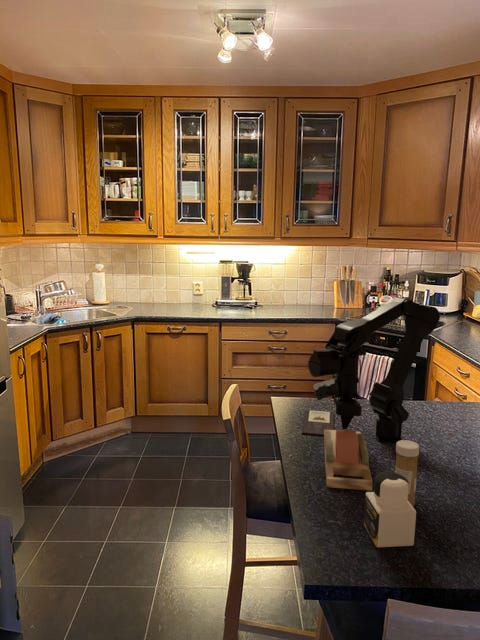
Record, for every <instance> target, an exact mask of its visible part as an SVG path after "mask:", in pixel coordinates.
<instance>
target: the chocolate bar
mask: <svg viewBox="0 0 480 640" xmlns="http://www.w3.org/2000/svg"><path fill="white" fill-rule="evenodd" d="M302 423H303V424H302V429H301V435H303V436H304V435H308V436H316V437H324V429H325V430H335V411H334V412H333V411H332V412H331V411H322V410H321V411H320V410H310V409H307V410H306V409H305V412H304V417H303V422H302Z"/></svg>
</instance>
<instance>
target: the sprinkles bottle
mask: <svg viewBox="0 0 480 640" xmlns="http://www.w3.org/2000/svg"><path fill="white" fill-rule="evenodd" d="M395 443H396V444H395V454H396V458H395V466H394V473H398V474H400V475H402V476H404V477H405V478H406V479H407V480H408V482H409V487H408V501H409V503H410V504H411V505H412V506H413V507H414V506H415V505H416V501H415V500H416V490H417V476H418V475H417V474H418V473H417V471H418V470H417V469H418V459H419V458H418V457H419V454H420V445H419V444H418V443H417V442H415V441H412V440H408V439H402V440H400V441H398V442H395Z"/></svg>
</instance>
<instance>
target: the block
mask: <svg viewBox="0 0 480 640" xmlns="http://www.w3.org/2000/svg"><path fill="white" fill-rule="evenodd" d="M335 430H336V443H335V451H336V462H337V463H350V464H358V451H359V443H358V438H357V433H356V432H357V431H356V430H347V429H335Z"/></svg>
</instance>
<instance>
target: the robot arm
mask: <svg viewBox="0 0 480 640" xmlns="http://www.w3.org/2000/svg"><path fill="white" fill-rule="evenodd" d="M402 316H403V317H405V319H404V329H405V333H404V335H403V338H402V340H401V342H400V345H399V346H398V349H397V351H396V352H395V353H396V354H395V356H394V358H393V360H392V363H391V366H390V367H389V370H388V372H387V375H386V377H385V379H384V380H381V382H377V381H375V382H374V384H373V387H372V389H371V391H370V393H369V394H368V395H369V400H368V401H369V403H370V404H369V405H370V406H371V408H372V413H374V414H377V417H376V419H375V420H374V435H375V436H376V439H377V441H378V442H388V443H389V442H390V443H397V442H398V441H400V440H403V439H402V430H403V424H404V422H407V420H408V419H409V416H410V412H409V411H408V410H407V409H406V408H405V407H404V406H403V403H404V399H405V394H404V385H405V382H406V380H407V377H408V376H409V373H410V371H411V368H412V367H413V364H414V361H415V359H416V356H417V354H418V352H419V350H420V348H421V345H422V343H423V341H424V339H425V338H426V337H428V336H429V335H431V334H432V333H433V332H434V331H435V329H436V327H437V325H438V324H439V322H440V319H441V314H440V312H439V310H438V308H437V307H435V306H432V305H425V304H420V303H418V302H415V301H413V300H411V299H409V298H406V297H400V296H399V297H394V298H393V299H392V300H391V301H389V302H388V303H386V304H384V305H382V306H380V307H379V308H377V309H375V310H374V311H372V312H370V313H368V314H367V315H365V316H363V317H361V318H359V319H352V320H347V321H344V322H342V323H339V324H337V326H335V327H334V332H333V334H332V335H331V336H330V338H329V339H328V341H327V342H326V344H325V346H324V349H313V352H312V353H313V354H311V355H310V356H309V357H310V358H309V360H308V362H307V363H308V364H307V366H308V367H307V368H308V370H309V373H310V375H311V376H312V377H314V378H319V377H327V376H333V378H332V379H327V380H324V381H320V382H316V383H314V384H313V392H314V395H315V397H316V400H318V401H321V400H323V399H326V398H330V397H333V396H334V398H333V403H334V405H333V406H334V414H335V415H337V416H340V422H341V430H347V429H348V428H349V426H350V424H351V422H352V420H353V419H354V417H361V416H362V411H363V410H362V405H361V403H360V402H359V401H358V400H357V399H359V393H358V386H359V385H358V384H359V383H360V378H359V365H360V356H367V351H365V350H364V349H363V348H362V346H363V345H365V344H366V343H367V342H368V341H369V340H370V337H371V335H373V334H374V333H375V332H377V331H378V330H380V329H382V328H383V327H385V326H387V325H389V324H391V323H392V322H394V321H395V320H398V319H400V318H401V317H402ZM342 346H343V347H342Z"/></svg>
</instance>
